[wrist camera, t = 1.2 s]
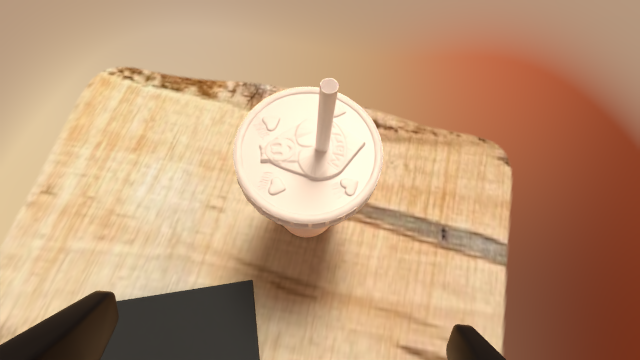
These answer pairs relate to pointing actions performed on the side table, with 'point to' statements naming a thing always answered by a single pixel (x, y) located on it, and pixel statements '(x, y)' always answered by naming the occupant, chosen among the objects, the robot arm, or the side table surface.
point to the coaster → (187, 325)
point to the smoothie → (308, 158)
